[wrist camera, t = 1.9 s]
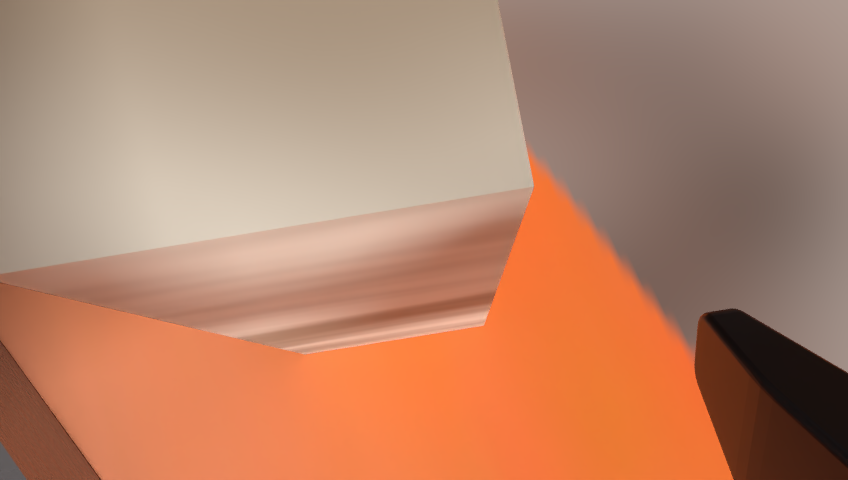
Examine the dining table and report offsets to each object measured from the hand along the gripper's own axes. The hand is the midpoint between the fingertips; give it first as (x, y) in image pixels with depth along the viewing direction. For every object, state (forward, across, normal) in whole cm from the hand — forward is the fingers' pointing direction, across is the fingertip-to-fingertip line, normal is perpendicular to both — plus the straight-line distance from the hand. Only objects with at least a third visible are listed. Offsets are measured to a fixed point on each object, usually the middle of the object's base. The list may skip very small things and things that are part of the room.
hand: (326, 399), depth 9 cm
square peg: (+11, 0, +5) cm, 12 cm away
